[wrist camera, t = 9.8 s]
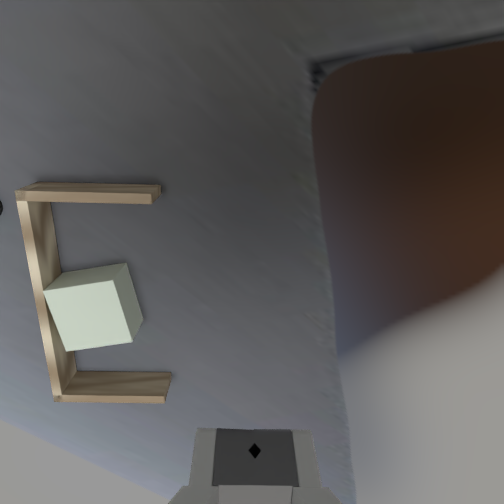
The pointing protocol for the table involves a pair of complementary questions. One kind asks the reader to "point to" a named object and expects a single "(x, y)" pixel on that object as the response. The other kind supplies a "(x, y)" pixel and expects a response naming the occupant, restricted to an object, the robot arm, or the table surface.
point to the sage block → (94, 307)
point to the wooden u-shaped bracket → (48, 269)
